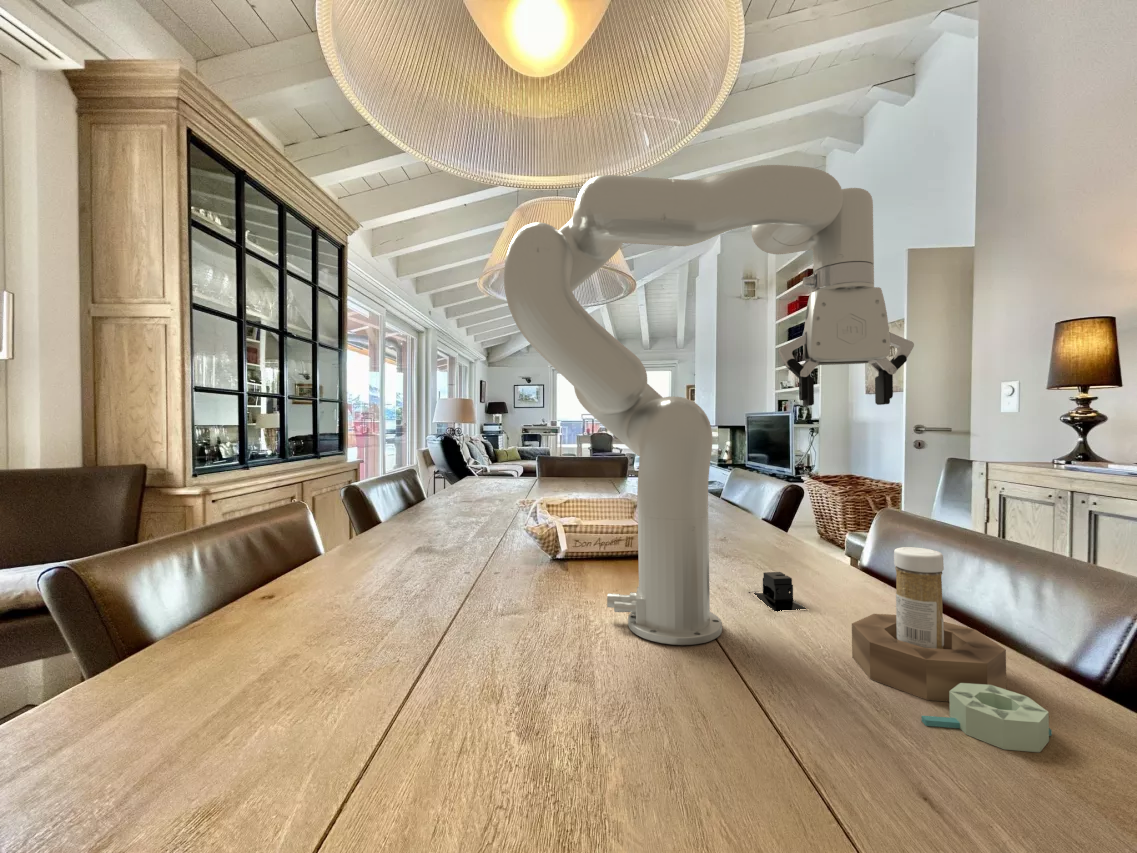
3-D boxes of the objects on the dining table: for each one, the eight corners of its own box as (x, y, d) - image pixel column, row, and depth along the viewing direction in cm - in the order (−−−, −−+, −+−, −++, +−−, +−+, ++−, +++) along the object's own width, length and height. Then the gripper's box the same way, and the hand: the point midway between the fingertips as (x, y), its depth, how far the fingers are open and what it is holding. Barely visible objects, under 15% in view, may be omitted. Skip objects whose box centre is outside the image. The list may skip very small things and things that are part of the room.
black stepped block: (821, 617, 76) (821, 586, 76) (773, 619, 75) (773, 588, 75) (779, 591, 88) (779, 564, 88) (738, 592, 88) (738, 565, 88)
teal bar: (925, 725, 47) (925, 720, 47) (921, 720, 48) (921, 715, 48) (1051, 735, 46) (1051, 729, 46) (1045, 730, 46) (1045, 724, 46)
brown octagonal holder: (885, 696, 53) (884, 657, 53) (841, 644, 65) (840, 612, 65) (1032, 707, 50) (1031, 666, 50) (956, 650, 63) (956, 617, 63)
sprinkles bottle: (952, 674, 57) (951, 551, 57) (933, 685, 55) (931, 557, 55) (907, 658, 61) (906, 544, 61) (887, 668, 59) (885, 549, 59)
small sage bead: (978, 747, 44) (978, 717, 44) (939, 707, 51) (938, 681, 51) (1065, 754, 43) (1065, 724, 43) (1014, 712, 49) (1013, 686, 49)
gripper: (783, 279, 71) (785, 405, 71) (924, 271, 68) (926, 402, 68) (772, 293, 78) (774, 407, 78) (899, 286, 75) (900, 404, 75)
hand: (844, 405), depth 73 cm, fingers open, 9 cm apart
